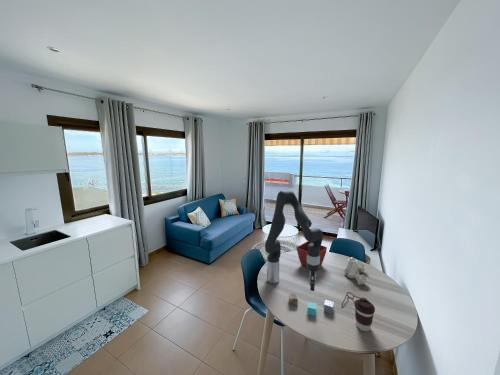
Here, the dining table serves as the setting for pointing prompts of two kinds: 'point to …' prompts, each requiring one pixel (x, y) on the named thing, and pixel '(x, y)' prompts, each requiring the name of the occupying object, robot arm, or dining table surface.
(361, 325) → the coffee cup
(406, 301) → the dining table surface
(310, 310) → the teal block
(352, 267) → the chinaware
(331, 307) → the slate gray block
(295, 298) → the walnut block
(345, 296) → the glasses
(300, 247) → the plant pot
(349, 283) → the dining table surface
